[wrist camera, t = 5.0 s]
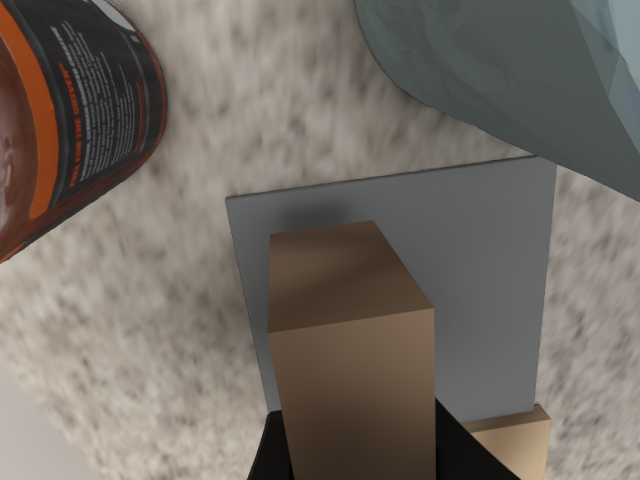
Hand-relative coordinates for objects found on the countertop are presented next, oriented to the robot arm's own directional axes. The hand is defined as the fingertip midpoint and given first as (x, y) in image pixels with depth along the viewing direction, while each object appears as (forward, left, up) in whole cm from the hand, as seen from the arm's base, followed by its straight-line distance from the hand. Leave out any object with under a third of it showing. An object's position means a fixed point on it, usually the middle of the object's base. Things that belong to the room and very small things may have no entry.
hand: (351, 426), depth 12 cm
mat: (-3, +5, -6) cm, 8 cm away
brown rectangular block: (0, 0, -3) cm, 3 cm away
